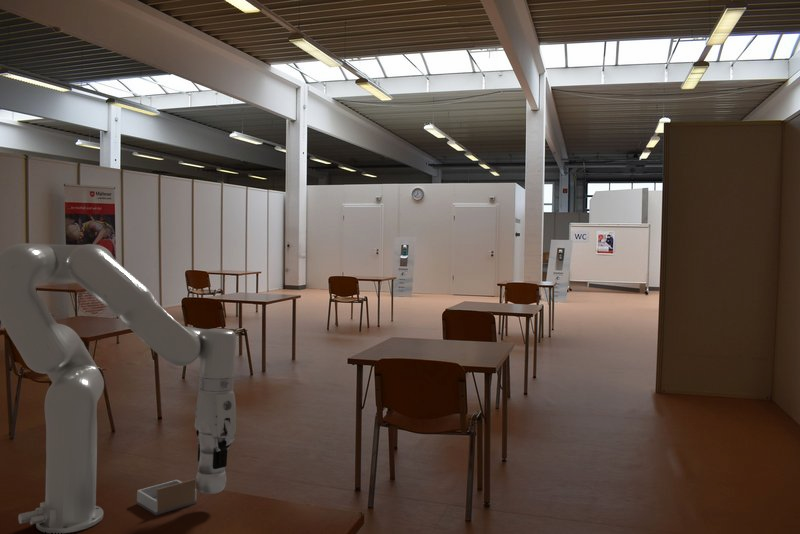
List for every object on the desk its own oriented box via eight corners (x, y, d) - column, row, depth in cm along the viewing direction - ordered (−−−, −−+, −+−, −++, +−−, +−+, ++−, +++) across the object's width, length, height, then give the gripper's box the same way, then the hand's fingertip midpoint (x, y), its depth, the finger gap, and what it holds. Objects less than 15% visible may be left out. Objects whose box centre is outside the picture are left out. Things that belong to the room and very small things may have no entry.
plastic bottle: (217, 499, 136) (222, 408, 136) (189, 495, 138) (194, 405, 137) (230, 488, 143) (235, 402, 142) (203, 485, 144) (208, 399, 144)
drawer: (155, 515, 136) (156, 490, 136) (136, 503, 142) (137, 479, 142) (196, 502, 143) (197, 478, 143) (176, 492, 149) (177, 469, 149)
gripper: (252, 389, 137) (248, 470, 137) (210, 376, 148) (206, 451, 148) (223, 393, 131) (218, 478, 132) (181, 379, 143) (176, 457, 143)
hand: (211, 463), depth 140 cm, fingers closed on plastic bottle, 5 cm apart
